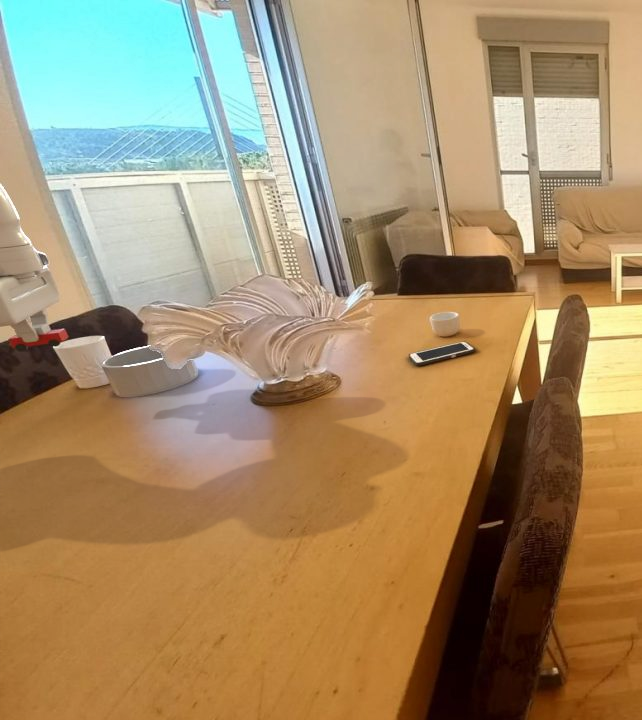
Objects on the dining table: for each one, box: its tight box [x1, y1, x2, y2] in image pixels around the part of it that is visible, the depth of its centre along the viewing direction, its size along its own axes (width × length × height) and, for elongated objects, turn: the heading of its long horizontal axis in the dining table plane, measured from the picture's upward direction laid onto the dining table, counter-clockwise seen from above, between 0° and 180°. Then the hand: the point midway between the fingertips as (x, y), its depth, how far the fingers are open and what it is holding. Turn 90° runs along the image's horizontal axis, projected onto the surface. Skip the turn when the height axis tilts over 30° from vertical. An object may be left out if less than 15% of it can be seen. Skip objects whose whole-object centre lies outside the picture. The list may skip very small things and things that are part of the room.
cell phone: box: [408, 340, 476, 367], centre depth 118 cm, size 8×15×1 cm, turn 127°
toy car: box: [7, 323, 69, 352], centre depth 88 cm, size 6×4×4 cm, turn 122°
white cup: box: [52, 335, 113, 389], centre depth 107 cm, size 8×8×10 cm
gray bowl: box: [100, 345, 199, 398], centre depth 106 cm, size 14×14×7 cm
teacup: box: [429, 311, 461, 338], centre depth 133 cm, size 10×8×5 cm
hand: (38, 337), depth 88 cm, fingers closed on toy car, 3 cm apart
